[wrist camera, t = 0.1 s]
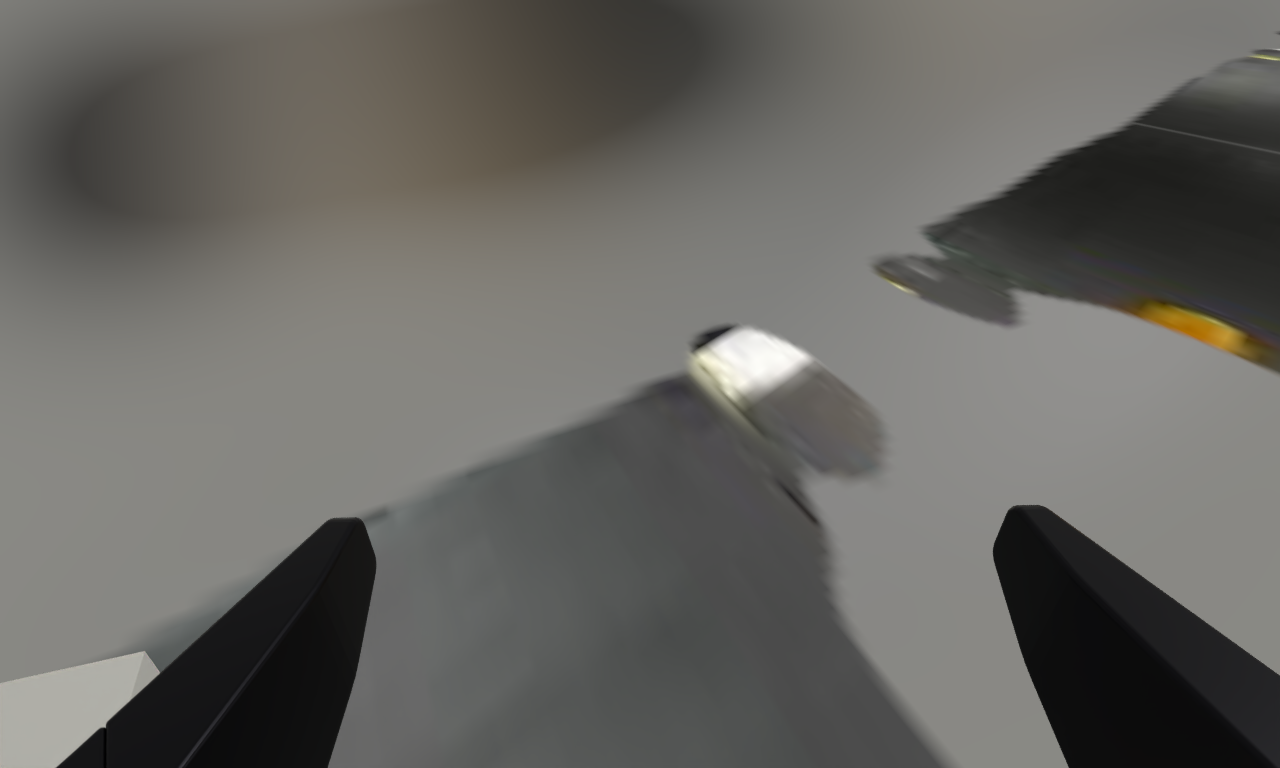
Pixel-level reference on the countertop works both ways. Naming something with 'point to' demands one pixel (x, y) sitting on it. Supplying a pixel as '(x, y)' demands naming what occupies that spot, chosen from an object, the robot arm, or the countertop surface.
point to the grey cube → (65, 708)
